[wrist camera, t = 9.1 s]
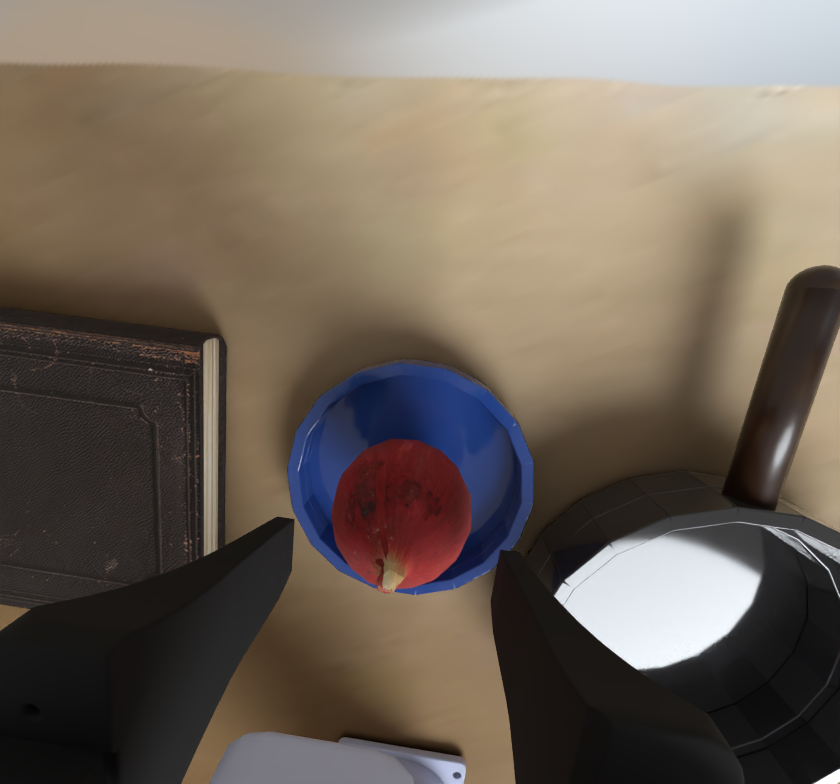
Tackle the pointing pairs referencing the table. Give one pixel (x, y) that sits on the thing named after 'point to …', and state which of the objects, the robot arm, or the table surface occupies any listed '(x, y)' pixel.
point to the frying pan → (713, 610)
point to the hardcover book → (106, 453)
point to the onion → (401, 514)
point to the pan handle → (786, 386)
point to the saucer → (431, 424)
